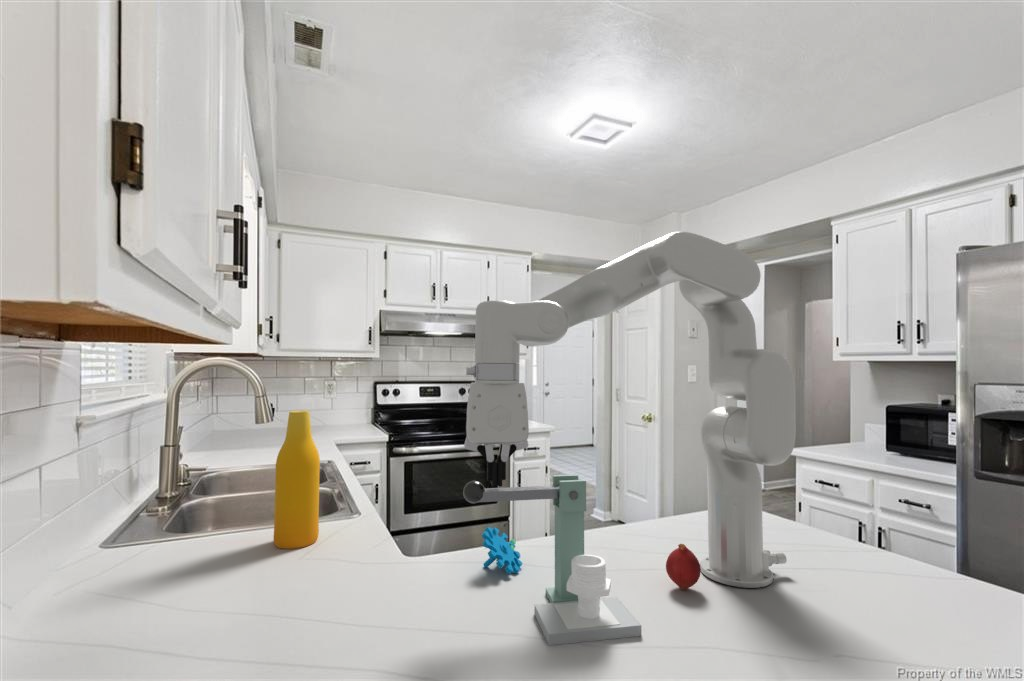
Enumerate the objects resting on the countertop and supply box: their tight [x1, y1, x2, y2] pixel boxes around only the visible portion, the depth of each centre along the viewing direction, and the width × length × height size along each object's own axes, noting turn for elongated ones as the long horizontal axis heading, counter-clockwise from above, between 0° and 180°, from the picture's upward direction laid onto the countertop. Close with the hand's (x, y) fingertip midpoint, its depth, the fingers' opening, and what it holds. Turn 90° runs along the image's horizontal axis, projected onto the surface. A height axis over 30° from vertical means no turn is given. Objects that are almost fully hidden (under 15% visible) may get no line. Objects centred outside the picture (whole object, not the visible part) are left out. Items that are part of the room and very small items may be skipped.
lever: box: [462, 480, 559, 504], centre depth 84 cm, size 20×4×4 cm, turn 101°
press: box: [533, 474, 642, 646], centre depth 80 cm, size 14×16×20 cm
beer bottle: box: [273, 410, 321, 550], centre depth 112 cm, size 9×9×29 cm
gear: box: [481, 526, 523, 575], centre depth 98 cm, size 11×6×10 cm
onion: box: [665, 542, 702, 591], centre depth 89 cm, size 6×6×8 cm
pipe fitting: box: [567, 554, 612, 619], centre depth 77 cm, size 6×7×8 cm
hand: (496, 484), depth 83 cm, fingers closed
